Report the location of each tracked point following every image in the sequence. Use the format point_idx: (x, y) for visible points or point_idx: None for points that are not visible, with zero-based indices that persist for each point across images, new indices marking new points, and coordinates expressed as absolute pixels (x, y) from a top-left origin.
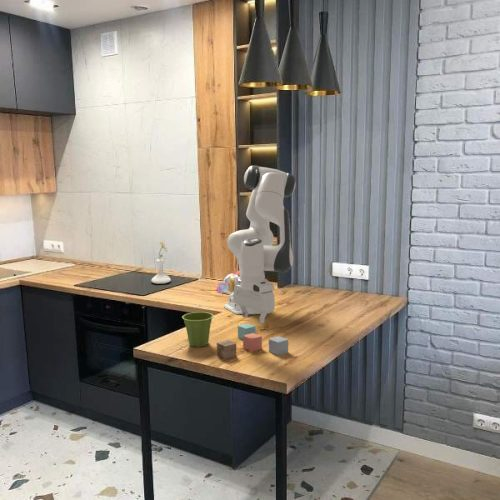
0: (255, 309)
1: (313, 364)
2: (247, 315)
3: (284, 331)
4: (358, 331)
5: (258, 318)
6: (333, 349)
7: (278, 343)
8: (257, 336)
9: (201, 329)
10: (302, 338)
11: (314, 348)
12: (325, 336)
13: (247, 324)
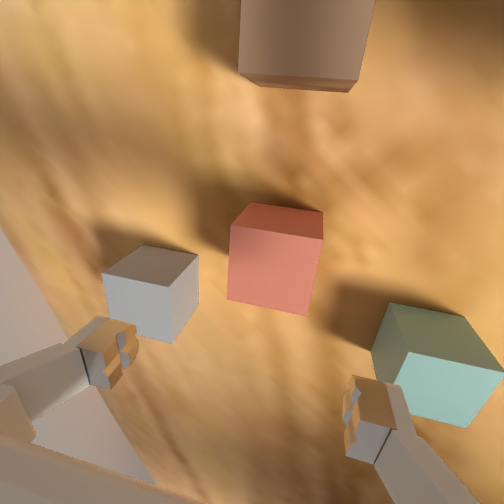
0: (7, 446)
1: (18, 254)
2: (344, 412)
3: (319, 446)
4: None
5: (102, 346)
6: None
7: (106, 272)
8: (240, 282)
9: None
10: (221, 415)
11: None
12: (188, 449)
13: (450, 411)
